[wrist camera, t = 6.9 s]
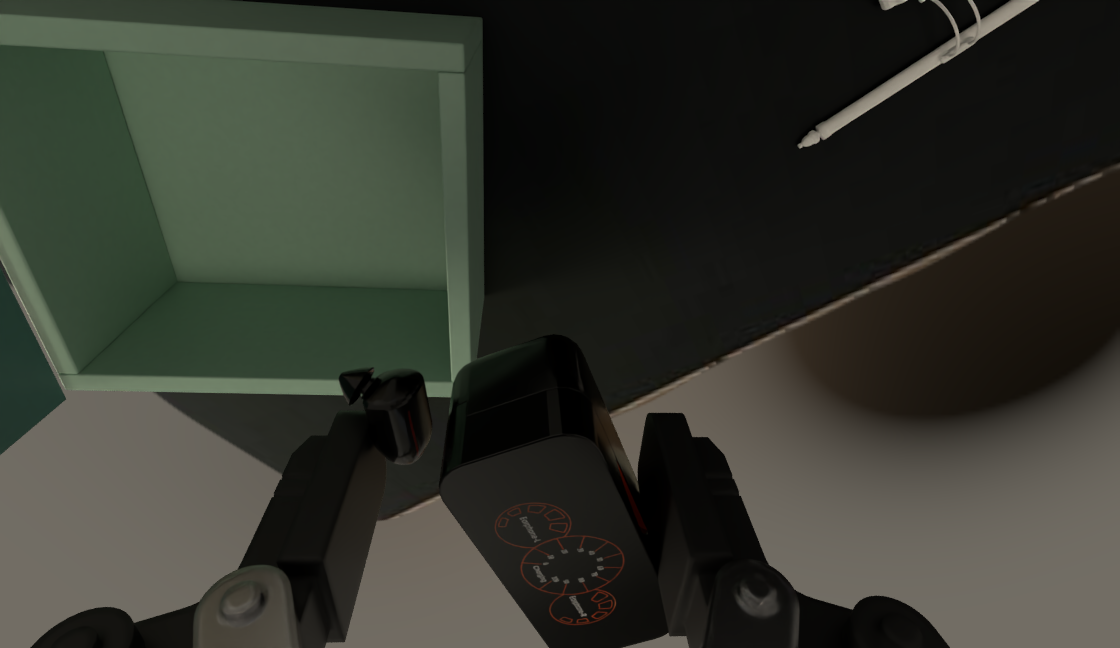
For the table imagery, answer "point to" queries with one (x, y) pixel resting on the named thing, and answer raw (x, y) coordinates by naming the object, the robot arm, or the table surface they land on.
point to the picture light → (918, 64)
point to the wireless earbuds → (534, 486)
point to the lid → (22, 373)
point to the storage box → (242, 192)
